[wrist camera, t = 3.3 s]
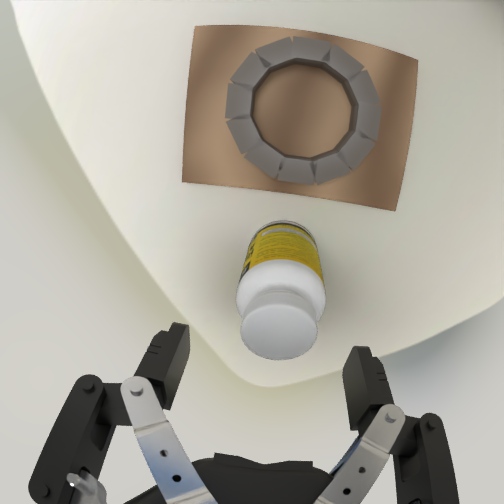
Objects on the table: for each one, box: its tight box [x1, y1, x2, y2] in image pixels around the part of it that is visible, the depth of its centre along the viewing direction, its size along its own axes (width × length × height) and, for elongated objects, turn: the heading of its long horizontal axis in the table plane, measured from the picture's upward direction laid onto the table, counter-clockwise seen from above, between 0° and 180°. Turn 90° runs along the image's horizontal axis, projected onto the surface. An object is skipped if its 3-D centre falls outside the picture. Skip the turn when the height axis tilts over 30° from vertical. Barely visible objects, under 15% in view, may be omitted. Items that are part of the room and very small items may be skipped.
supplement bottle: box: [236, 221, 326, 360], centre depth 18 cm, size 5×5×10 cm
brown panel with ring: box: [182, 25, 418, 211], centre depth 16 cm, size 16×12×3 cm
